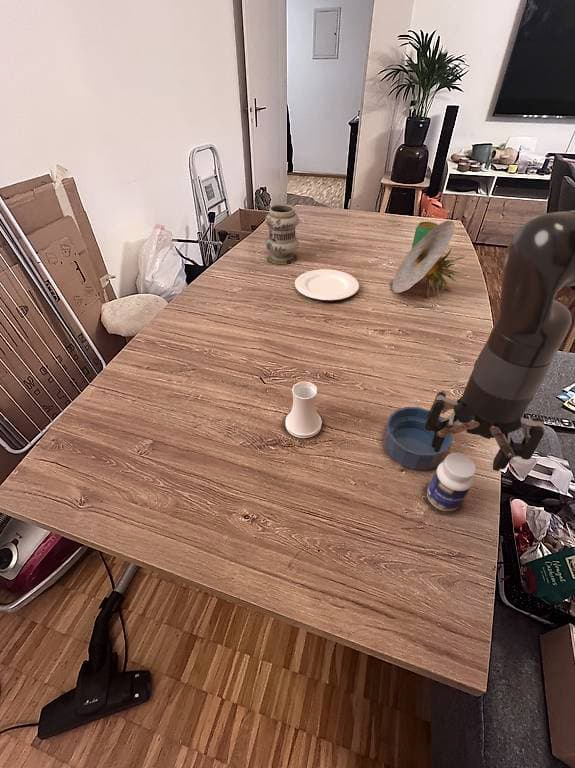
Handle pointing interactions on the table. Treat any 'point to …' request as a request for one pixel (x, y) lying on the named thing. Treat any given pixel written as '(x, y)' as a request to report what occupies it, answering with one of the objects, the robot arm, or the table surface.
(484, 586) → the table surface
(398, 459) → the bowl
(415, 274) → the potted plant
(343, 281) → the plate
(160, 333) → the table surface
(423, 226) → the beverage can
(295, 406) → the vase
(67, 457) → the table surface
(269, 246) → the apothecary jar
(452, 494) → the pill bottle
